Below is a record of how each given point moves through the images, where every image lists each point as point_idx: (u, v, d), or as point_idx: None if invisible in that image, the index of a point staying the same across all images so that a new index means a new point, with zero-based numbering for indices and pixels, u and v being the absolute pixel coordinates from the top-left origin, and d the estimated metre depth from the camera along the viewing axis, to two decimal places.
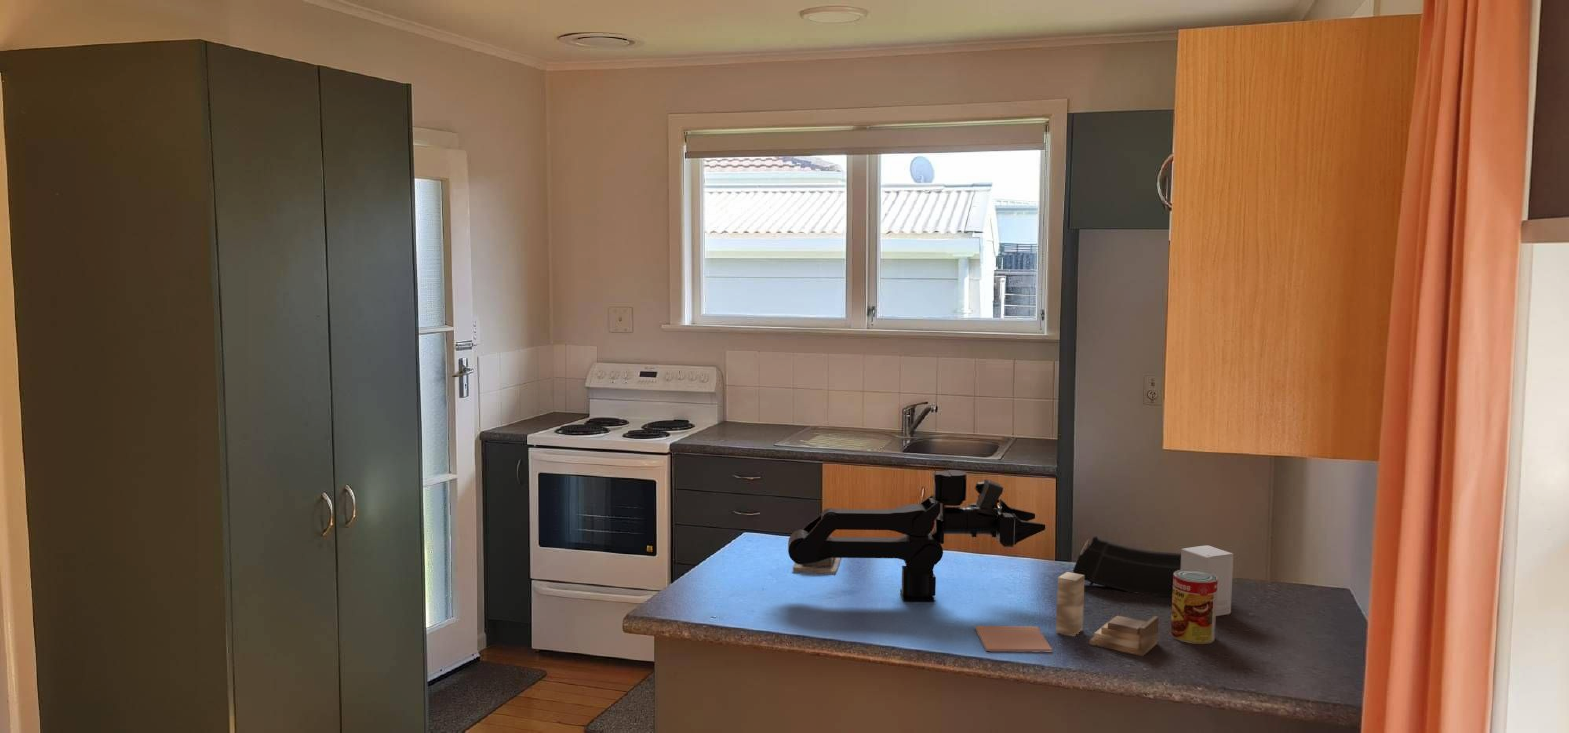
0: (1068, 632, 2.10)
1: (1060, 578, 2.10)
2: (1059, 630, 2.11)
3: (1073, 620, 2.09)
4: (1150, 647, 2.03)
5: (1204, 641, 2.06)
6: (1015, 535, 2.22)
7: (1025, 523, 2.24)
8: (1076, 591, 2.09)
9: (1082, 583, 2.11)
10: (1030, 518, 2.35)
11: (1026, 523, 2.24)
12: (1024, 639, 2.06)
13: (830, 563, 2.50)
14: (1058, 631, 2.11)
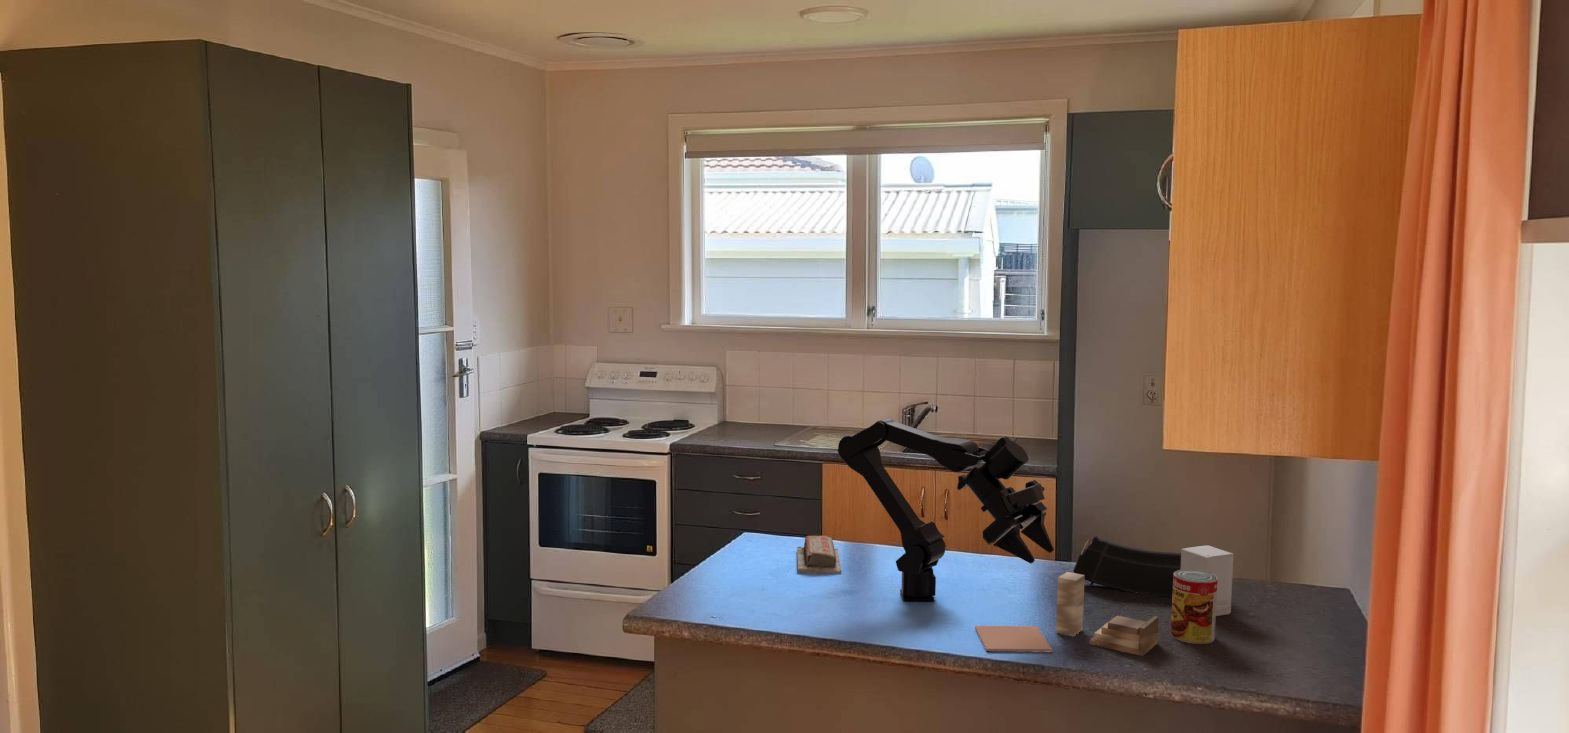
0: (1068, 632, 2.10)
1: (1060, 578, 2.10)
2: (1059, 630, 2.11)
3: (1073, 620, 2.09)
4: (1150, 647, 2.03)
5: (1204, 641, 2.06)
6: (999, 540, 2.11)
7: (1018, 542, 2.10)
8: (1076, 591, 2.09)
9: (1082, 583, 2.11)
10: (1046, 549, 2.18)
11: (1019, 542, 2.10)
12: (1024, 639, 2.06)
13: (834, 563, 2.50)
14: (1058, 631, 2.11)
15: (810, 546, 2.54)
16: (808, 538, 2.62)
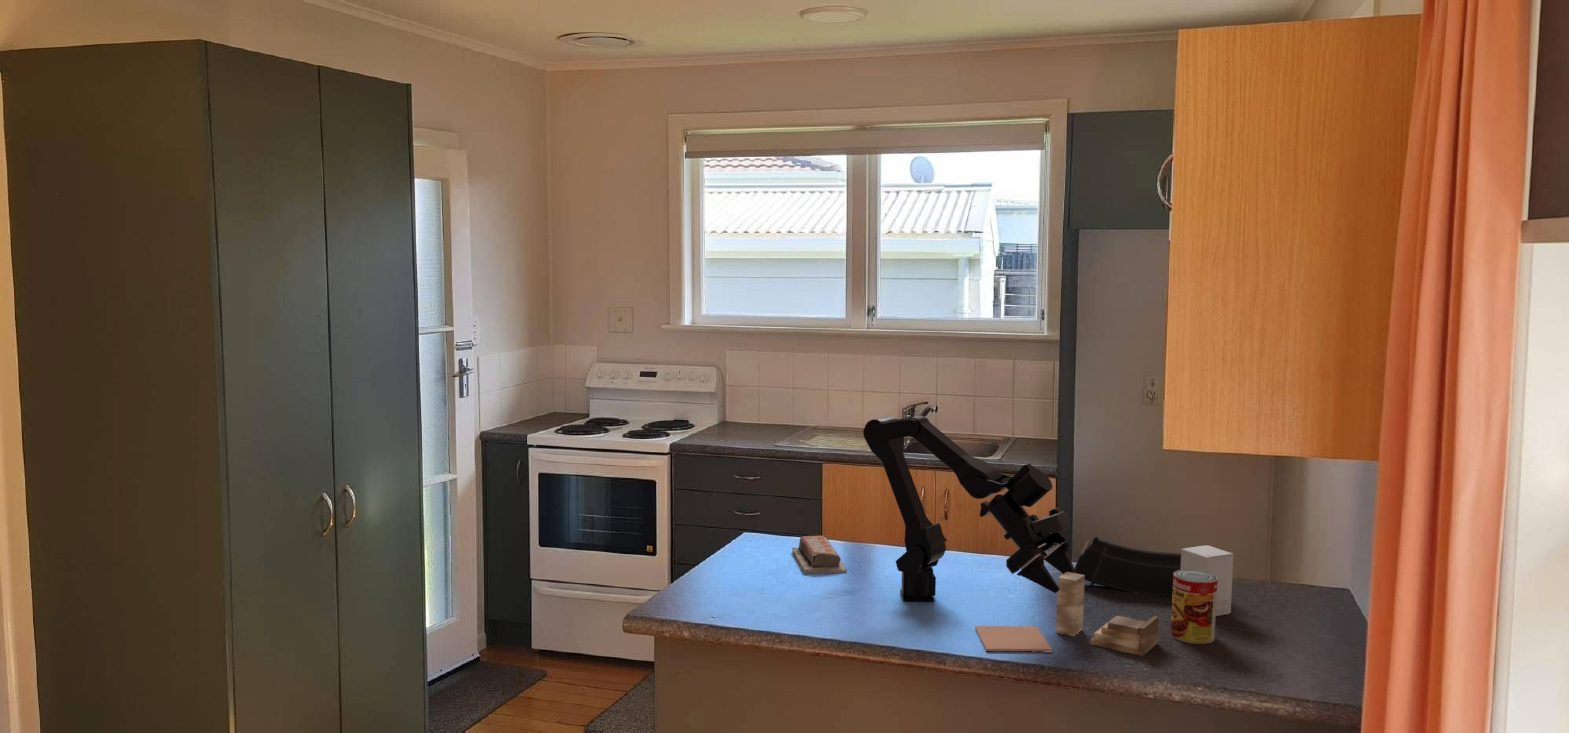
0: (1068, 632, 2.10)
1: (1060, 578, 2.10)
2: (1059, 630, 2.11)
3: (1073, 620, 2.09)
4: (1150, 647, 2.03)
5: (1204, 641, 2.06)
6: (1023, 569, 2.08)
7: (1043, 571, 2.08)
8: (1076, 591, 2.09)
9: (1082, 583, 2.11)
10: None
11: (1044, 572, 2.08)
12: (1024, 639, 2.06)
13: (838, 562, 2.51)
14: (1058, 631, 2.11)
15: (812, 546, 2.54)
16: (804, 539, 2.61)
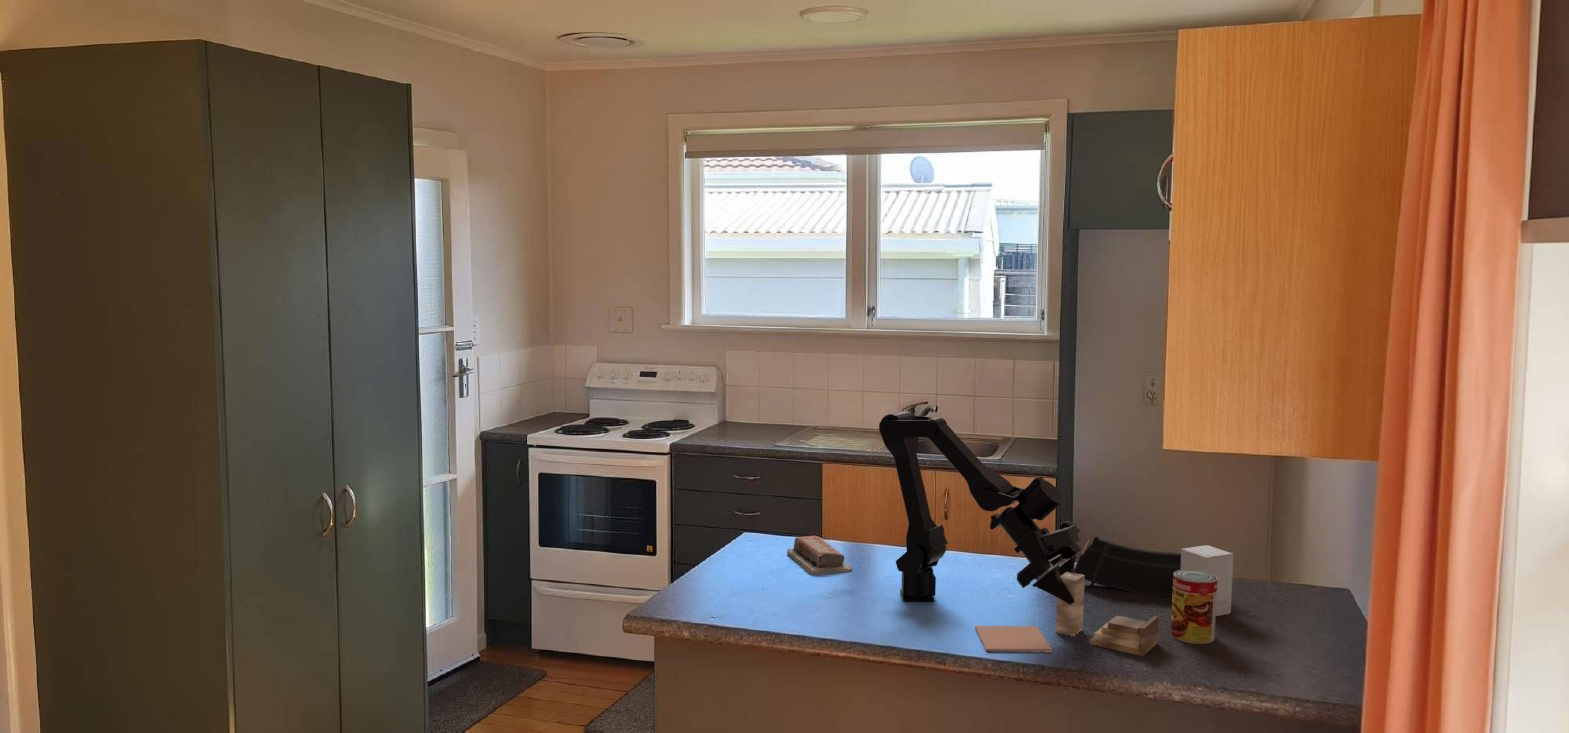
0: (1068, 632, 2.10)
1: None
2: (1059, 630, 2.11)
3: (1073, 620, 2.09)
4: (1150, 647, 2.03)
5: (1204, 641, 2.06)
6: (1039, 580, 2.09)
7: (1058, 582, 2.08)
8: (1076, 591, 2.09)
9: (1082, 583, 2.11)
10: None
11: (1059, 583, 2.08)
12: (1024, 639, 2.06)
13: (842, 561, 2.51)
14: (1058, 631, 2.11)
15: (813, 547, 2.54)
16: (801, 539, 2.61)
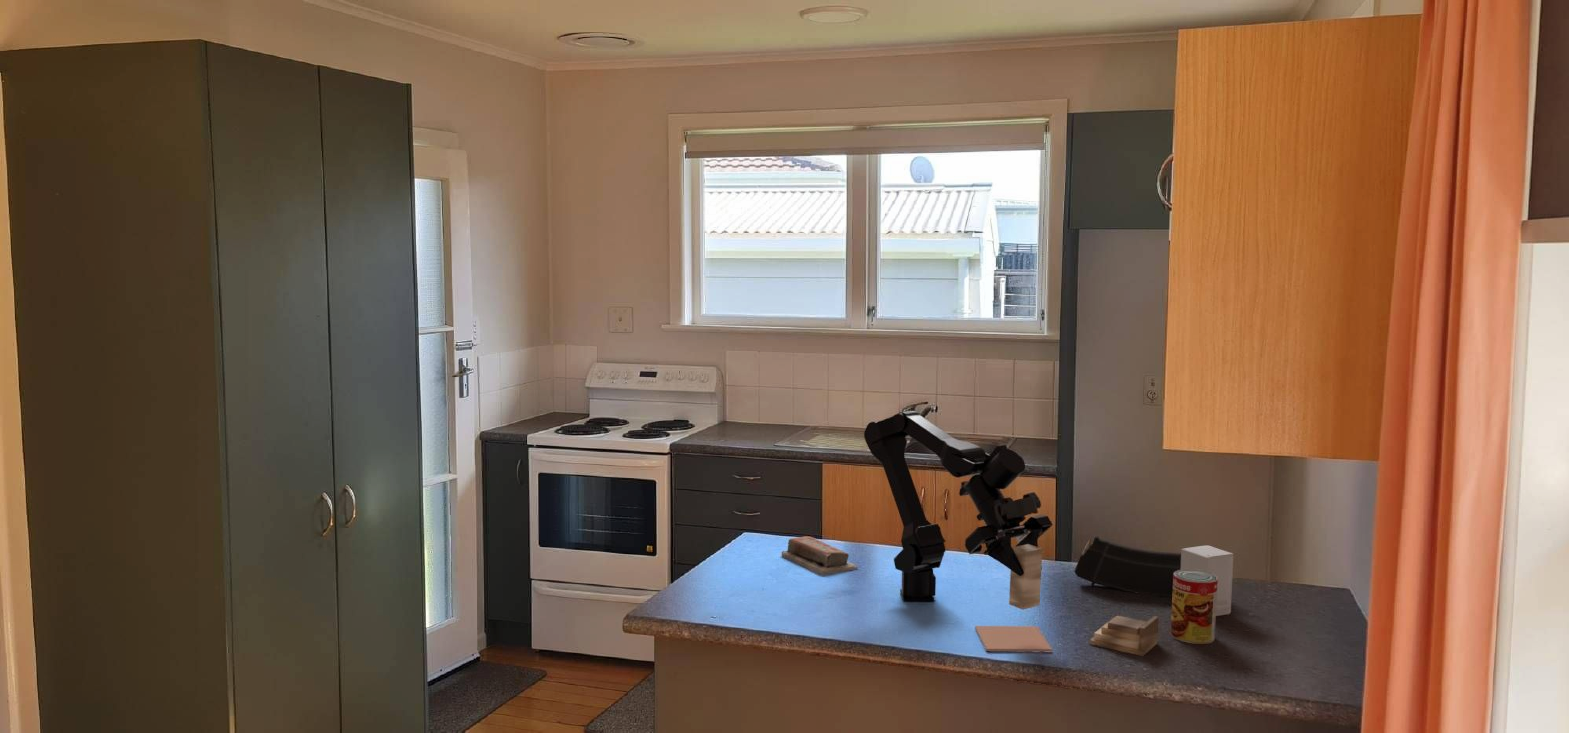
0: (1019, 604, 2.05)
1: (1013, 548, 2.06)
2: (1012, 602, 2.06)
3: (1023, 592, 2.04)
4: (1150, 647, 2.03)
5: (1204, 641, 2.06)
6: (988, 548, 2.06)
7: (1007, 552, 2.04)
8: (1027, 563, 2.04)
9: (1038, 556, 2.05)
10: None
11: (1008, 553, 2.04)
12: (1024, 639, 2.06)
13: (846, 559, 2.53)
14: (1011, 603, 2.07)
15: (816, 547, 2.53)
16: (797, 540, 2.60)
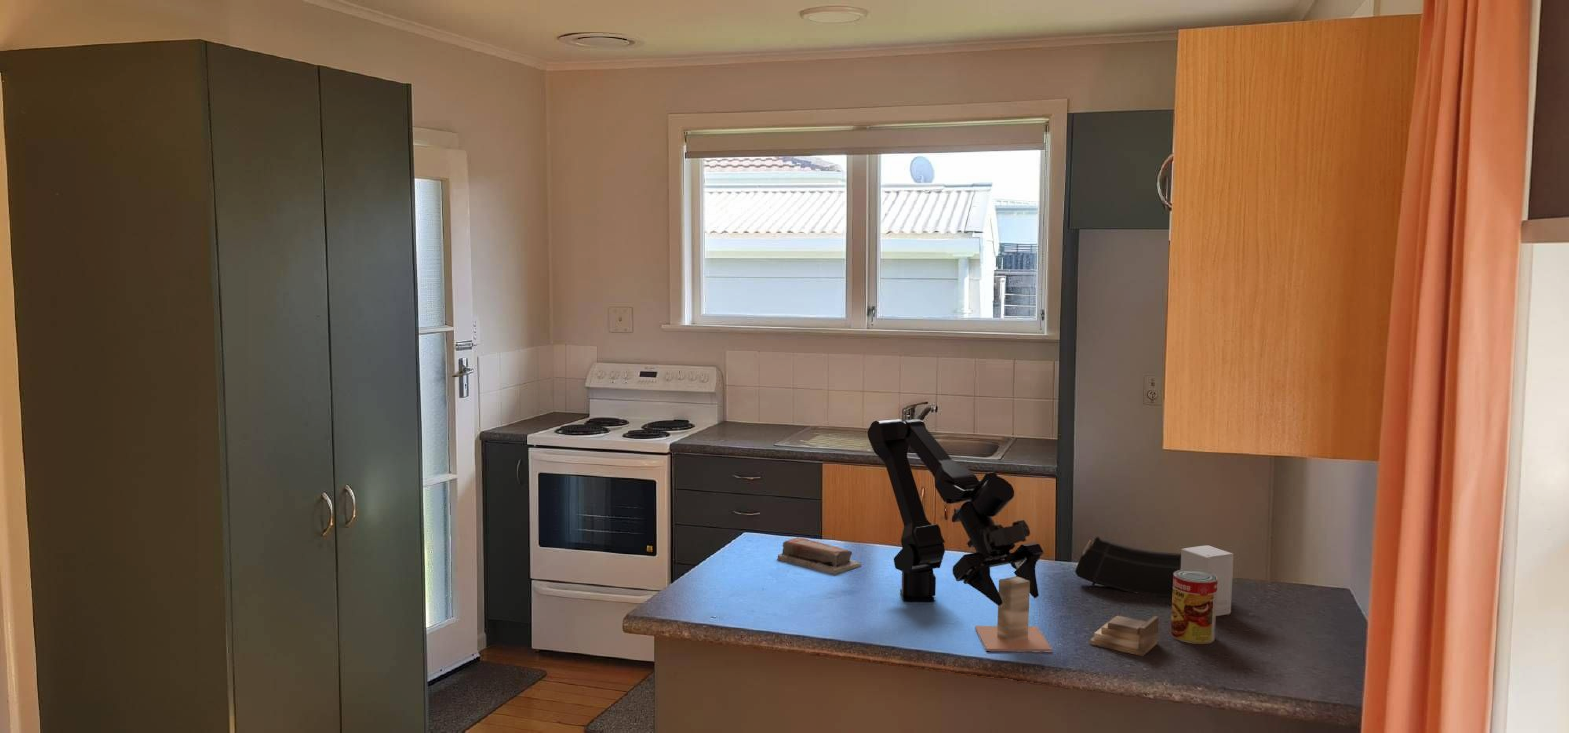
0: (1006, 637, 2.05)
1: (1000, 581, 2.06)
2: (999, 634, 2.07)
3: (1010, 625, 2.04)
4: (1150, 647, 2.03)
5: (1204, 641, 2.06)
6: (967, 577, 2.05)
7: (986, 582, 2.03)
8: (1013, 596, 2.04)
9: (1025, 589, 2.05)
10: (1032, 593, 2.08)
11: (987, 583, 2.03)
12: (1024, 639, 2.06)
13: None
14: (998, 635, 2.07)
15: (819, 547, 2.53)
16: (794, 542, 2.58)
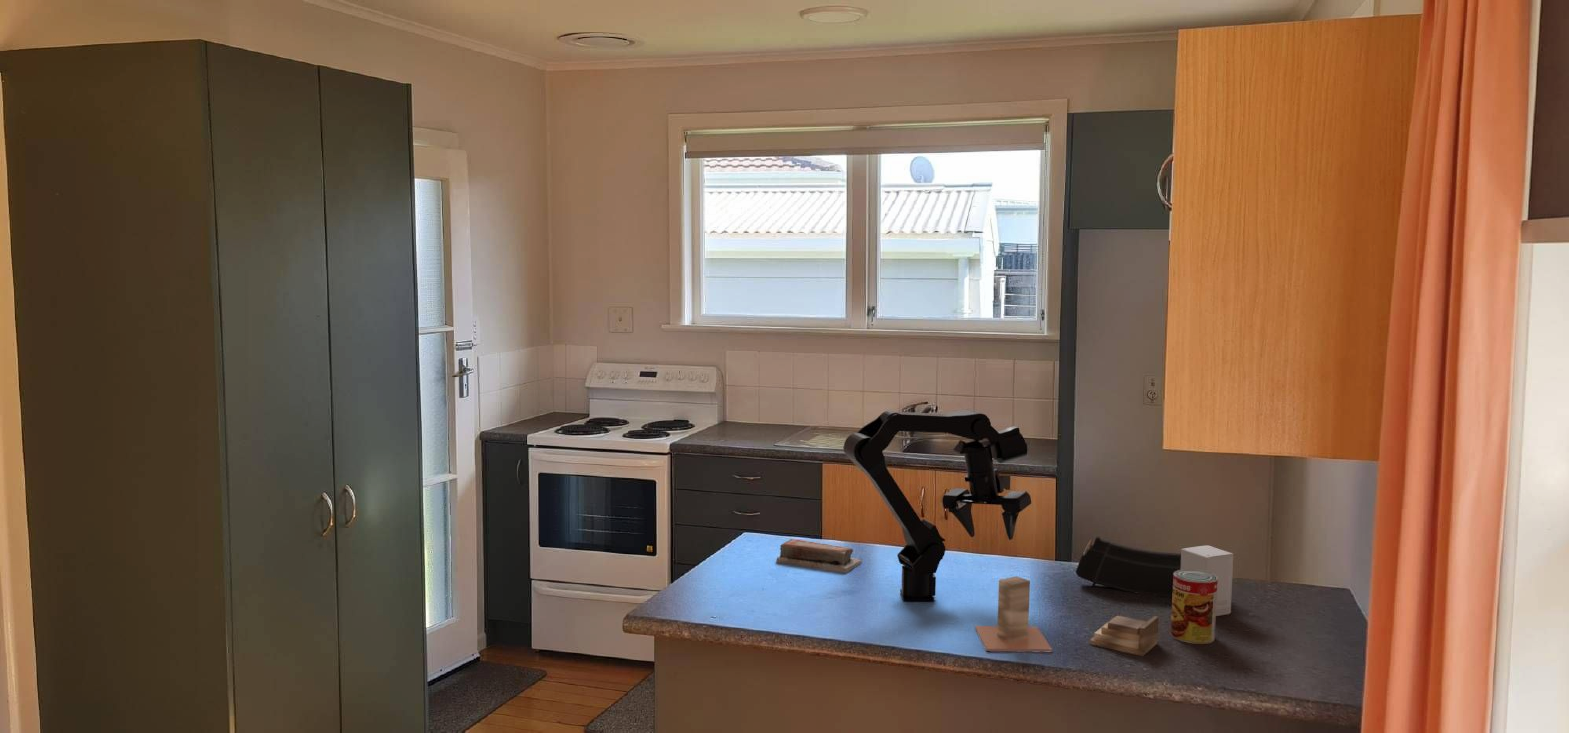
0: (1006, 637, 2.05)
1: (1000, 581, 2.06)
2: (999, 634, 2.07)
3: (1010, 625, 2.04)
4: (1150, 647, 2.03)
5: (1204, 641, 2.06)
6: None
7: (1016, 518, 2.32)
8: (1013, 596, 2.04)
9: (1025, 589, 2.05)
10: (971, 533, 2.38)
11: (1016, 519, 2.32)
12: (1024, 639, 2.06)
13: (850, 555, 2.56)
14: (998, 635, 2.07)
15: (823, 547, 2.53)
16: (793, 544, 2.56)
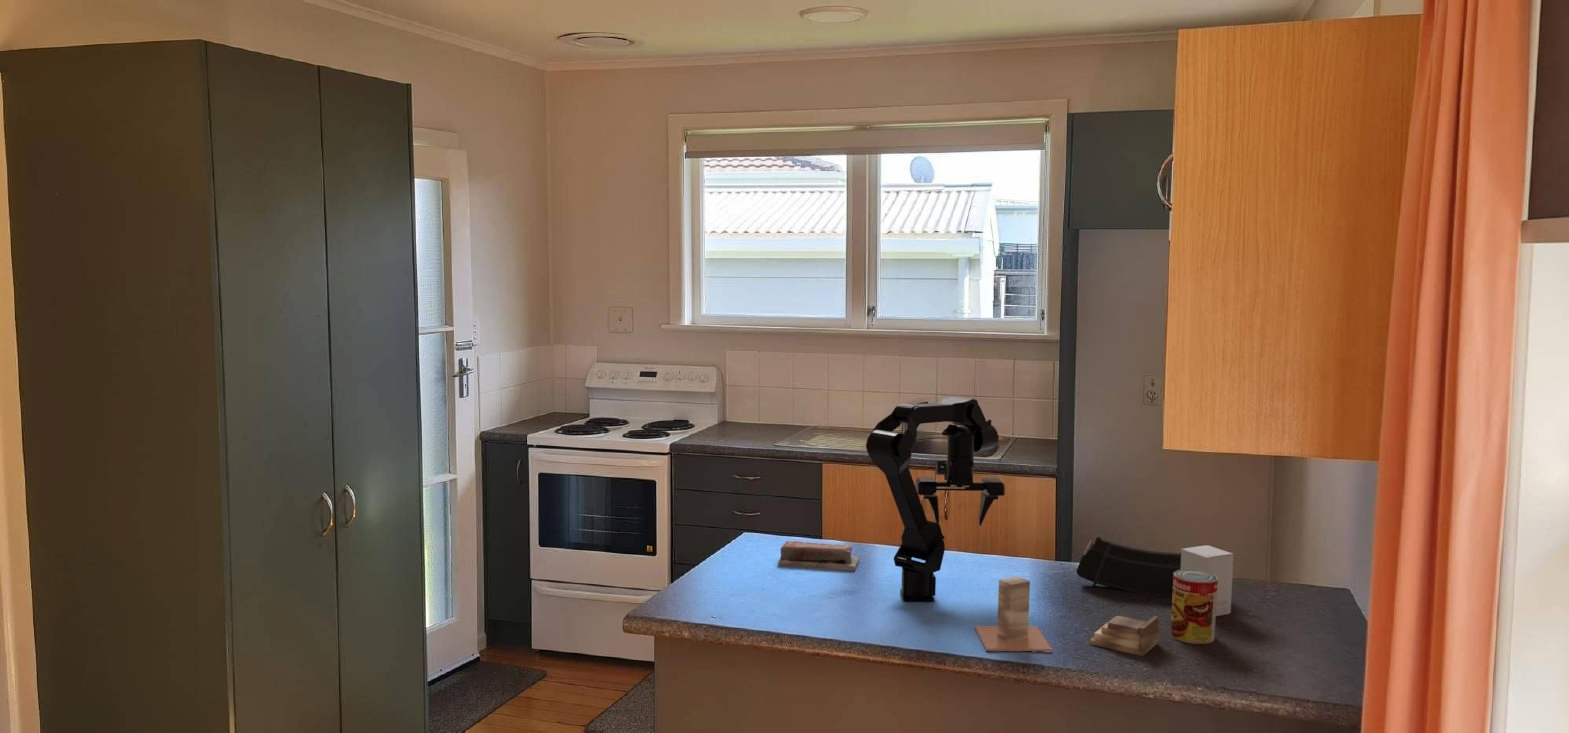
0: (1006, 637, 2.05)
1: (1000, 581, 2.06)
2: (999, 634, 2.07)
3: (1010, 625, 2.04)
4: (1150, 647, 2.03)
5: (1204, 641, 2.06)
6: None
7: None
8: (1013, 596, 2.04)
9: (1025, 589, 2.05)
10: None
11: None
12: (1024, 639, 2.06)
13: None
14: (998, 635, 2.07)
15: (826, 547, 2.54)
16: (793, 546, 2.55)
